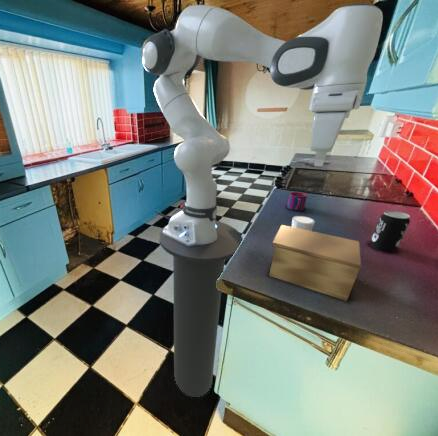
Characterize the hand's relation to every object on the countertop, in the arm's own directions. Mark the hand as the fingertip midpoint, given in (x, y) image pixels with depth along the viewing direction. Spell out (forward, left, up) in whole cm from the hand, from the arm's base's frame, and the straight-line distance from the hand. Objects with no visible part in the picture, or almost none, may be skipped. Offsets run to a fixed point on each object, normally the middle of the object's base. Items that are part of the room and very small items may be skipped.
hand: (318, 165), depth 57 cm
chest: (+4, 0, -31) cm, 31 cm away
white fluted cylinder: (-1, +23, -31) cm, 39 cm away
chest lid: (+4, 0, -21) cm, 21 cm away
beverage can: (+22, +29, -31) cm, 48 cm away
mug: (-6, +50, -31) cm, 59 cm away
